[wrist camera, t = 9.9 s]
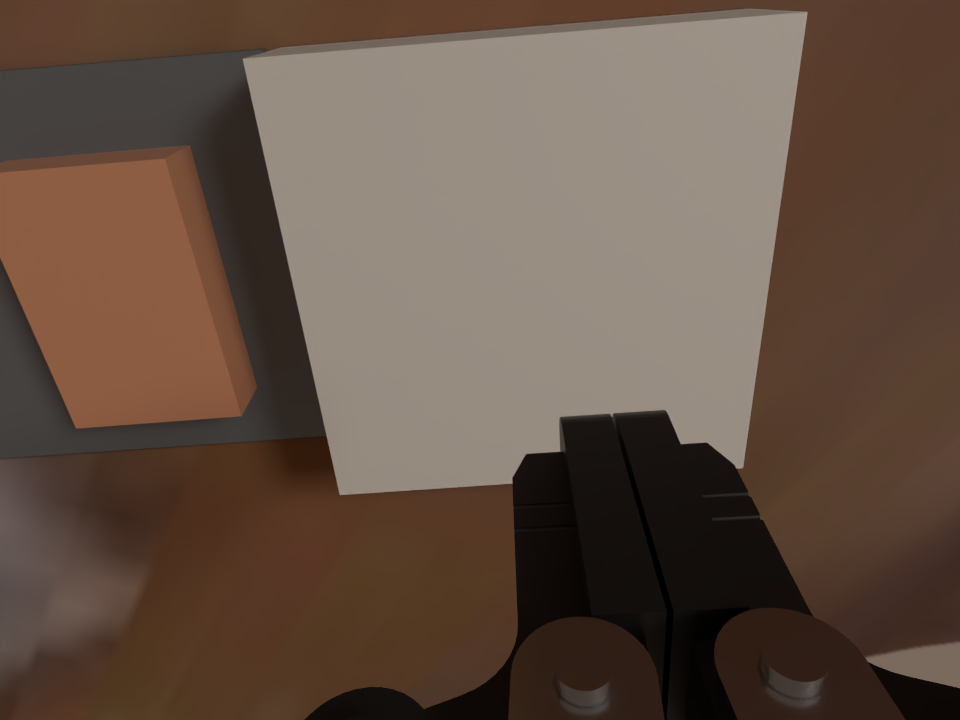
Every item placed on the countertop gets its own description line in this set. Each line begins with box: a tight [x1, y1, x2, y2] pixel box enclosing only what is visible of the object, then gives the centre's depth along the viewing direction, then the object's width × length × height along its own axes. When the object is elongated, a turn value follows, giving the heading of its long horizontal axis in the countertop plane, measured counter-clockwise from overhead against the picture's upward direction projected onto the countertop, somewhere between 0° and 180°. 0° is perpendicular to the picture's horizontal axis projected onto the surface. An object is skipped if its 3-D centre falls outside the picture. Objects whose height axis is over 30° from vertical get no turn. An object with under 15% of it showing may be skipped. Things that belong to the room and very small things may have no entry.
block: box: [0, 145, 257, 429], centre depth 23 cm, size 6×9×2 cm, turn 5°
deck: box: [243, 9, 807, 495], centre depth 22 cm, size 14×14×4 cm
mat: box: [0, 49, 327, 459], centre depth 24 cm, size 14×14×1 cm
